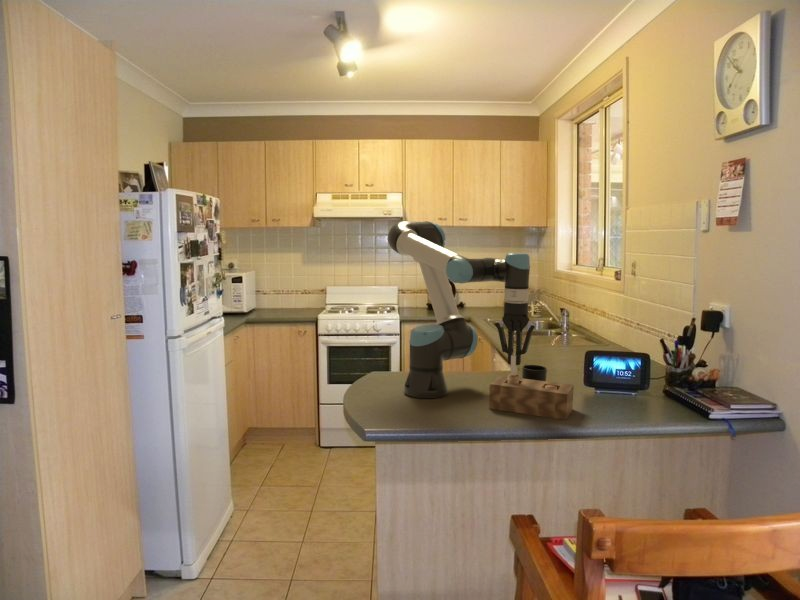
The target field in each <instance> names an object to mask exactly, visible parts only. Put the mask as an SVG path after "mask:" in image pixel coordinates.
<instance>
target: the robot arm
mask: <svg viewBox="0 0 800 600" xmlns="http://www.w3.org/2000/svg"><path fill="white" fill-rule="evenodd" d="M445 241H446V234H445V231H444V229H443V228H442V227H441V226H440V225H439V224H438V223H437V222H433V221H432V222H431V221H425V220H424V221H410V220H409V221H408V220H406V221H405V220H402V221H399V222H396V223H395V224H393V225H392V226H391V227H390V229H389V231H388V233H387V242H388V243H387V244H388V245H389V247H390V248H391V250H393V251H394V252H396V253H397V254H399V255H401V256H404V257H406V256H410V257H411V258H413V261H414V262H416V263H418V264H419V267H420V270H421V273H422V276H423V280H424V284H425V286H426V290H427V294H428V296H429V299H430V303H431V306H432V310H433V312H434V316H435V320H436V323H435V324H434V323H431V324H430V323H429V324H422V325H418V326H416V327H414V328H412V329H411V331H410V333H409V335H410V336H409V341H408V343H409V365H408V366H409V369H408V374H407V377H406V380H405V382H404V385H403V392H404V394H405V395H406V396H409V397H412V398H418V399H437V398H442V397H445V396H446V395H448V384H447V381H446V379H445V378H446V377H445V375H444V361H449V360H450V361H451V360H457V359H458V360H459V359H464V358H467V357H469V356H472V354H474V353H475V352H476V350H477V347H478V343H479V337H478V336H479V335H478V333H477V330H476V329H475V327H473V326H472V325H470V324H468V323H467V320H466V317H464V316H463V315H460V312H459V310H458V306H457V302H456V300H455V296H454V293H453V290H452V287H451V284H450V282H451V283H454V284H466V283H467V284H468V283H486V282H501V283H504V298H503V299H504V301H505V302H504V303H503V316H502V318H501V320H499V321H497V322H495V327H496V329H497V332H498V336H499V340H500V346H501V350H502V352H503V353H506V354H507V364H508V365H510V373H509V374H510V375H513V376H515V375H518V366H520V365H521V362H522V355H525V354H526V353H528V349H529V345H530V342H531V339H532V335H533V332H534V330H535V329H536V327H537V325H536V324H533V322H531V321H530V318H529V303H528V301H529V296H530V295H529V293H530V291H529V290H530V288H529V285H530V284H529V283H530V272H531V271H530V270H531V264H530V263H531V262H530V259H531V258H530V255H529V254H528V253H524V252H520V253H519V252H508V253H506V254H505V258H494V257H483V258H467V256H463V255H461V254H459V253H457V252H454V251H453V250H451V249H450V250H449V249H448V248H446V247H445V245H446V242H445ZM504 326H505V328H507V333H508V336H507V338H508V339H507V338H506V332H505V328H504ZM526 326H527V327H526ZM525 328H527V332H526V335H525V338H524V342H523V343H522V341H523V330H524V329H525ZM515 334H516V338H515ZM514 340H515V341H516V342H515V341H514ZM514 342H515V347H514ZM514 348H515V353H514Z"/></svg>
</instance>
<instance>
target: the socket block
mask: <svg viewBox="0 0 800 600" xmlns="http://www.w3.org/2000/svg"><path fill="white" fill-rule="evenodd" d="M546 385H553V386H556V387H557V390H555V389H547V388H545V386H546ZM574 386H575V385H574V384H570V383H561V382H554V381H547V380H546V381H539V380H531V379H523V378H520V377H519V385H516V384H508V376H505V375H499V376H498V377H496V378H495V379H494V380H493V381H492V382H491V383H489V403H488V409H491V410H498V411H503V412H504V411H505V412H509V413H516V414H517V413H518V414H524V415H532V416H537V417H543V418H550V419H557V420H564V421H567V419H568V418H569V416H570V414H571V413H572V411H573V409H574V408H573V407H574V406H573V405H574V403H573V402H574V390H575V389H574Z"/></svg>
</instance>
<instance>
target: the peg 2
mask: <svg viewBox="0 0 800 600" xmlns="http://www.w3.org/2000/svg"><path fill="white" fill-rule="evenodd" d="M545 388H547V389H555V390H557V387H556V386H553V385H546V386H545Z"/></svg>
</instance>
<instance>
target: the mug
mask: <svg viewBox="0 0 800 600" xmlns="http://www.w3.org/2000/svg"><path fill="white" fill-rule="evenodd" d="M521 368H522V370H521V373H522V374H521V377H522V378H523V379H531V380H539V381H547V374H548V373H547V372H548V370H547V367H545V366H542V365H539V364H538V365H537V364H524V365H523V366H522V367H521Z"/></svg>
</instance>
